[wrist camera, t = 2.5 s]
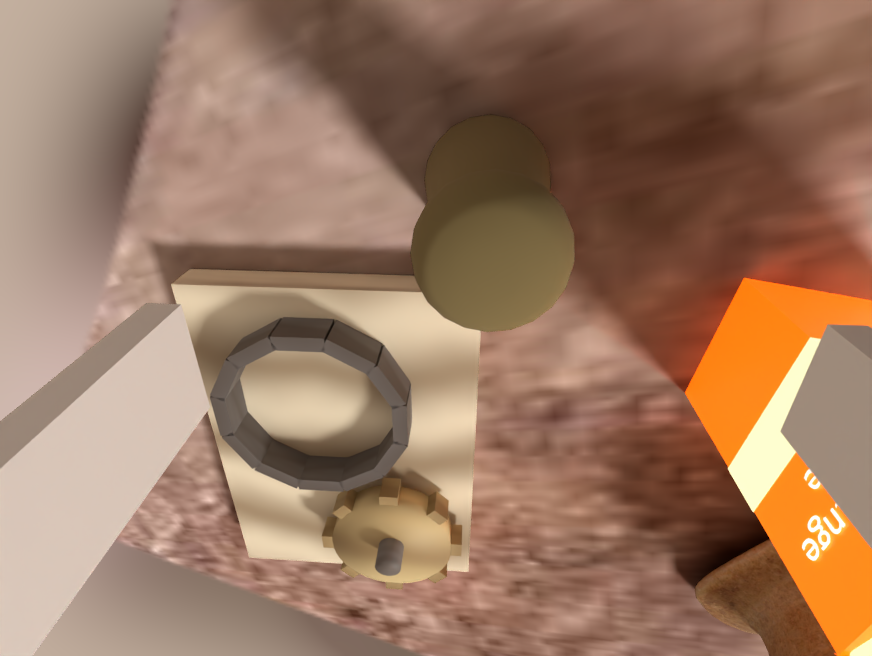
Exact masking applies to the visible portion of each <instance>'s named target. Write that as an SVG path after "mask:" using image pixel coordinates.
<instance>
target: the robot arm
mask: <svg viewBox="0 0 872 656" xmlns="http://www.w3.org/2000/svg"><path fill="white" fill-rule="evenodd" d="M209 408H210V405H209V401H208V398H207V394H206V391H205V387H204V384H203V380H202V377H201V373H200V369H199V366H198V362H197V359H196V355H195V352H194V348H193V344H192V341H191V337H190V334H189V330H188V327H187V323H186V320H185V316H184V312H183V309H182V305H181V304H154V303H146V304H145V305H143V306H142V307H141V308H140V309H139V310H137V311H136V312H135V313H134V314H132V315H131V316H130V317H129V318H127V319H126V320H125V321H124V322H122V323H121V324H120V325H119V326H117V327H116V328H115V329H114V330H113V331H111V332H110V333H109V334H108V335H106V336H105V337H104V338H103V339H101V340H100V341H99V342H98V343H96V344H95V345H94V346H93V347H92V348H90V349H89V350H88V351H87V352H85V353H84V354H83V355H82V356H80V357H79V358H78V359H77V360H75V361H74V362H73V363H72V364H70V365H69V366H68V367H67V368H66V369H65V370H63V371H62V372H61V373H59V374H58V375H57V376H56V377H54V378H53V379H52V380H51V381H50V382H48V383H47V384H46V385H45V386H43V387H42V388H41V389H40V390H38V391H37V392H36V393H35V394H33V395H32V396H31V397H30V398H29V399H27V400H26V401H25V402H23V403H22V404H21V405H20V406H19V407H17V408H16V409H15V410H14V411H12V412H11V413H10V414H9V415H7V416H6V417H5V418H4V419H2V420H1V421H0V656H33V654H34V653H35V652H36V650H37V649H38V647H39V646H40V645H41V643H42V642H43V640H44V639H45V638H46V636H47V635H48V633H49V632H50V631H51V629H52V628H53V626H54V625H55V623H56V622H57V621H58V619H59V618H60V617H61V615H62V614H63V612H64V611H65V610H66V608H67V607H68V605H69V604H70V603H71V601H72V600H73V598H74V597H75V595H76V594H77V593H78V591H79V590H80V589H81V587H82V586H83V584H84V583H85V582H86V580H87V579H88V577H89V576H90V574H91V573H92V572H93V570H94V569H95V568H96V566H97V565H98V563H99V562H100V561H101V559H102V558H103V556H104V555H105V553H106V552H107V551H108V549H109V548H110V547H111V545H112V544H113V542H114V541H115V540H116V538H117V537H118V535H119V534H120V533H121V531H122V530H123V528H124V527H125V526H126V524H127V523H128V521H129V520H130V519H131V517H132V516H133V514H134V513H135V512H136V510H137V509H138V507H139V506H140V505H141V503H142V502H143V500H144V499H145V498H146V496H147V495H148V494H149V492H150V491H151V489H152V488H153V487H154V485H155V484H156V482H157V481H158V480H159V478H160V477H161V475H162V474H163V473H164V471H165V470H166V468H167V467H168V466H169V464H170V463H171V461H172V460H173V459H174V457H175V456H176V454H177V453H178V452H179V450H180V449H181V447H182V446H183V445H184V443H185V442H186V440H187V439H188V438H189V436H190V435H191V433H192V432H193V431H194V429H195V428H196V426H197V425H198V424H199V422H200V421H201V419H202V418H203V417H204V415H205V414H206V412H207V411H208V410H209ZM780 432H781V433H782V435H783V436H784V437H785V439H786V440H787V441H788V442H789V444H790V445H791V446H792V448H793V449H794V450H795V451H796V453H797V454H798V455H799V456H800V458H801V459H802V460H803V462H804V463H805V464H806V465H807V467H808V468H809V469H810V471H811V472H812V473H813V474H814V476H815V477H816V478H817V480H818V481H819V482H820V483H821V485H822V486H823V487H824V489H825V490H826V491H827V492H828V494H829V495H830V496H831V498H832V499H833V500H834V501H835V503H836V504H837V505H838V507H839V508H840V509H841V510H842V512H843V513H844V514H845V516H846V517H847V518H848V519H849V521H850V522H851V523H852V524H853V526H854V527H855V528H856V530H857V531H858V532H859V533H860V535H861V536H862V537H863V539H864V540H865V541H866V542H867V544H868V545H869V546H870V548H871V549H872V328H871V327H869V326H867V325H834V324H827V326H826V329H825V331H824V333H823V336H822V338H821V340H820V342H819V345H818V347H817V349H816V351H815V354H814V356H813V358H812V360H811V363H810V365H809V367H808V369H807V372H806V374H805V376H804V378H803V381H802V383H801V385H800V388H799V390H798V392H797V394H796V397H795V399H794V401H793V403H792V406H791V408H790V410H789V412H788V415H787V417H786V419H785V421H784V424H783V426H782V428H781V430H780Z"/></svg>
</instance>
